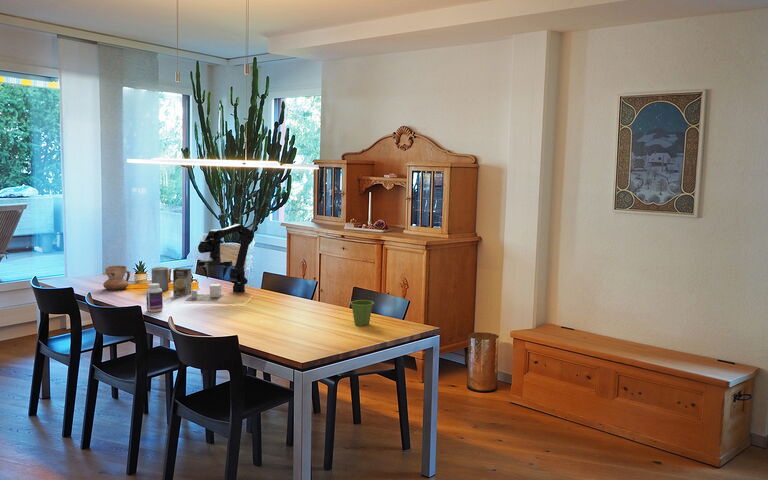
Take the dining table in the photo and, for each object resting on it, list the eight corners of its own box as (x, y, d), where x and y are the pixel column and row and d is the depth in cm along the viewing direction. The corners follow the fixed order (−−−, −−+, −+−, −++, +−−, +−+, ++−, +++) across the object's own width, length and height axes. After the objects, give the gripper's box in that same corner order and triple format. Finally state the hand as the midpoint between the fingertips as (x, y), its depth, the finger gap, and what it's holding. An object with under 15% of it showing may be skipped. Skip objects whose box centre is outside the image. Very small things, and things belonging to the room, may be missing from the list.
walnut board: (224, 296, 394) (224, 294, 394) (216, 303, 374) (216, 301, 374) (193, 296, 394) (193, 294, 394) (184, 303, 374) (184, 300, 374)
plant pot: (350, 321, 337) (351, 299, 336) (374, 322, 336) (374, 300, 335) (348, 327, 325) (349, 304, 324) (373, 327, 325) (373, 305, 323)
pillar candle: (162, 288, 417) (161, 264, 415) (171, 290, 411) (171, 266, 409) (148, 290, 409) (147, 266, 407) (158, 292, 403) (157, 268, 401)
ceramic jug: (109, 292, 400) (109, 269, 398) (96, 289, 408) (96, 266, 407) (136, 289, 414) (136, 266, 412) (123, 286, 423) (123, 264, 421)
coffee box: (172, 296, 392) (172, 269, 390) (177, 294, 398) (176, 267, 396) (187, 297, 391) (187, 270, 389) (191, 295, 397) (191, 268, 395)
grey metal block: (197, 298, 381) (197, 289, 381) (196, 299, 378) (196, 290, 378) (192, 298, 381) (192, 289, 380) (191, 299, 378) (191, 290, 378)
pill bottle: (166, 310, 355) (165, 283, 353) (155, 313, 347) (154, 286, 346) (154, 308, 358) (153, 282, 356) (143, 311, 351) (142, 284, 349)
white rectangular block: (221, 295, 392) (221, 284, 391) (219, 297, 386) (219, 285, 386) (212, 295, 392) (211, 284, 391) (209, 296, 386) (209, 285, 385)
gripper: (195, 253, 378) (195, 280, 380) (228, 253, 378) (228, 280, 380) (200, 250, 389) (200, 276, 391) (232, 251, 389) (232, 277, 391)
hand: (215, 278), depth 388 cm, fingers open, 9 cm apart
